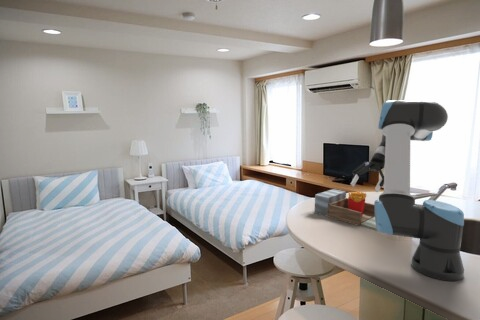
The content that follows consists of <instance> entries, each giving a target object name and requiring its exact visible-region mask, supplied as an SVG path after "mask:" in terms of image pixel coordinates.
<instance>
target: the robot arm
mask: <svg viewBox="0 0 480 320" xmlns="http://www.w3.org/2000/svg"><path fill="white" fill-rule="evenodd" d="M448 118H449V116H448V112H447V110H446V109H445V107H444V106H443V105H441V104H440V103H438V102H436V101H433V100H430V99H429V100H427V99H416V100H412V99H411V100H410V99H409V100H407V99H405V100H402V99H401V100H397V99H393V100H385V101H384V102H383V103H382V105H381V109H380V115H379V121H378V125H377V128H378V129H379V130H381V133H382V136H381V141H380V143H379V145H378V147H377V148H376V150H375V151H374V153H373V155H372V157H371V159H370V161H367V160H364V161H363V162H362V163H361V164H360V165H359V166H357V167H356V168H355V169H353V170H352V174H353V176H352V178H351V179H352V180H351V182H350V186H351V187H352V188H355V186H356V184H357V182H358V180H359V178H360V176H362V175H364V174H366V173H368V172H375V173H376V172H377V173H379V175H380V177H381V178H380V179H379V180H378V182H377V183H376V186H375V188H374V190H375V193H379V191H380V189H381V188H382V187H383V192H382V193H380V194H379V196H378V199H375V200H374V203H373V204H374V207H375V208H374V209H375V222H376V227H377V230H376V231H378V232H379V233H381V234H386V235H390V236H398V237H407V238H413V239H418V240H419V244H418V246H417V247H416V250H415V251H414V254H413V255H412V257H411V266H412V267H413V269H415V271H416V272H418V273H420V274H423V275H425V276H427V277H429V278H432V279H435V280H439V281H440V280H441V281H446V282H447V281H448V282H449V281H450V282H454V281H455V282H456V281H460V280H462V279H463V278H464V275H465V266H464V263H463V260H462V256H461V252H460V251H461V246H462V239H463V231H464V230H463V229H464V226H465V214H464V211H463V210H462V209H460V208H459V207H458V206H455V205H453V204H451V203H447V202H442V201H439V200H433V199H426V200H424V201H423V202H422V204H418V203H416V199H415V197H414V196H413V195H412V194H411V141H419V142H420V141H421V142H427V141H432V137H433V132H435V131H439V130H441V129H442V128H443V127H444V126H445V125H446V124H447V122H448V120H449V119H448ZM382 169H384V171H383V170H382Z"/></svg>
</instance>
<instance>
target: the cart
mask: <svg viewBox="0 0 480 320" xmlns="http://www.w3.org/2000/svg"><path fill="white" fill-rule="evenodd" d="M374 208H375V207H374V203H371V202H370V203H369V202H365V205H364V210H363V216H361V213H362V212H358V211H354V210H350V209H349V204H348V198H347V191H344V190H339V189H334V188H332V189H329V190H325V191H323V192H318V193H316V194H315V196H314V213H315V214H318V215H321V216H324V217H325V216H326V217H328V218H332V219H334V220H335V219H336V220H339V221H342V222H345V223H349V224H351V225H356V226H359V227H364V228H367V229H370V230H373V231H374V230H375V231H378V230H377V227H376V222H375V209H374Z"/></svg>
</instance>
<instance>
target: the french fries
mask: <svg viewBox="0 0 480 320" xmlns="http://www.w3.org/2000/svg"><path fill="white" fill-rule="evenodd" d="M366 197H367V193H366V192H365V193H364V192H363V191H351V192H350V191H349V192H348V204H349V209H350V210H354V211H358V212H362V213H361V216H363V210H364V205H365V203H366Z"/></svg>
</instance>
